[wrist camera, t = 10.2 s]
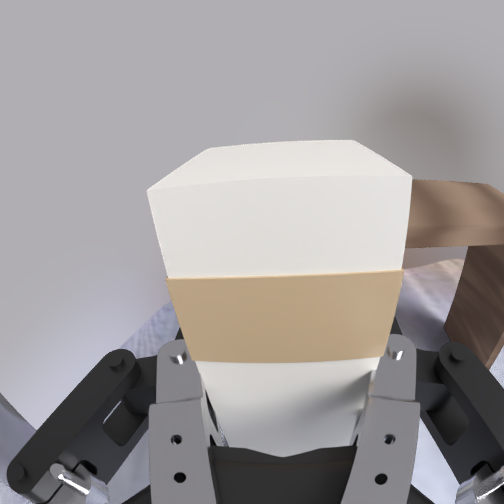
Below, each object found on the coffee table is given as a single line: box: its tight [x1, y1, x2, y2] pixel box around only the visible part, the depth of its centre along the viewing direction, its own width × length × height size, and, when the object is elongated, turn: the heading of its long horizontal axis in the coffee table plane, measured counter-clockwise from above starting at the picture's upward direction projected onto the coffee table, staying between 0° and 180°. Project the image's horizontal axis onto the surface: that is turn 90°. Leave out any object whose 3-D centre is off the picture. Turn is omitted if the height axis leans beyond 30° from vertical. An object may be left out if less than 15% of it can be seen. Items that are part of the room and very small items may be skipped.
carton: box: [147, 140, 412, 457], centre depth 10 cm, size 5×5×14 cm
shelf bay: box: [405, 180, 504, 370], centre depth 23 cm, size 22×10×18 cm, turn 84°
